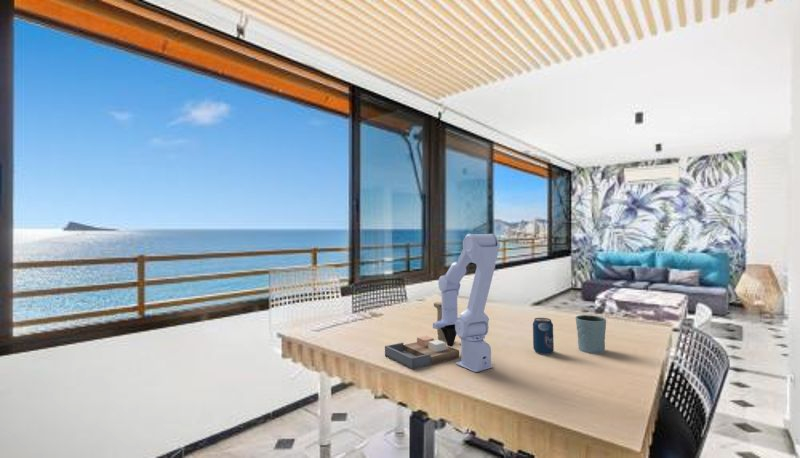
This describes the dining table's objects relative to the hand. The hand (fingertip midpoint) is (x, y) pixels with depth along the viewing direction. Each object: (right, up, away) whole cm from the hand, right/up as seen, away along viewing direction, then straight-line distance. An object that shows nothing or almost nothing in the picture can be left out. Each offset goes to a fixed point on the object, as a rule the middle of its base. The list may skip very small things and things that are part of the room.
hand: (450, 345), depth 133 cm
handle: (-1, -3, +18) cm, 19 cm away
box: (-16, -3, -7) cm, 18 cm away
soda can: (+34, -3, 0) cm, 34 cm away
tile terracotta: (-9, 0, +2) cm, 9 cm away
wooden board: (-7, -3, -1) cm, 8 cm away
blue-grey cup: (+52, -2, +1) cm, 53 cm away
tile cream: (-5, 0, -3) cm, 6 cm away
